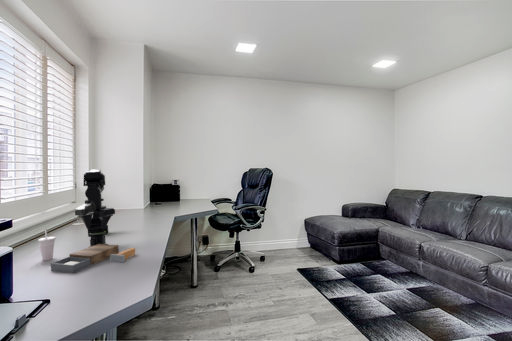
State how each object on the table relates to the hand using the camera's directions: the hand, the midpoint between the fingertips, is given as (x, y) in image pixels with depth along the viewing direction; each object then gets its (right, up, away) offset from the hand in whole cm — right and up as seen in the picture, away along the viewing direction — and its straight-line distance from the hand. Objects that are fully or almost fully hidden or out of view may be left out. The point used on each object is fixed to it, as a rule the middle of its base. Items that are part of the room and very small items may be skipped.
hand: (95, 229), depth 125 cm
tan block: (+3, -12, -5) cm, 13 cm away
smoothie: (-20, -13, -4) cm, 24 cm away
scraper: (+17, -12, -6) cm, 22 cm away
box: (0, -12, -16) cm, 20 cm away
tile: (0, -10, -17) cm, 20 cm away
